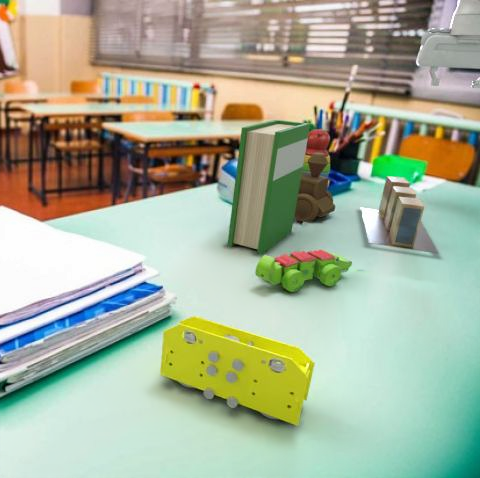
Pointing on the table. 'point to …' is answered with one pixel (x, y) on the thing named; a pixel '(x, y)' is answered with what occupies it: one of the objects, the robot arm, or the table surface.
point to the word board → (381, 234)
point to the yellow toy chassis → (238, 367)
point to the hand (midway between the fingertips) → (454, 86)
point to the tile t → (406, 221)
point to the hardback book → (267, 183)
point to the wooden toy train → (314, 191)
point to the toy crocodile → (302, 268)
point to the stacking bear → (317, 149)
